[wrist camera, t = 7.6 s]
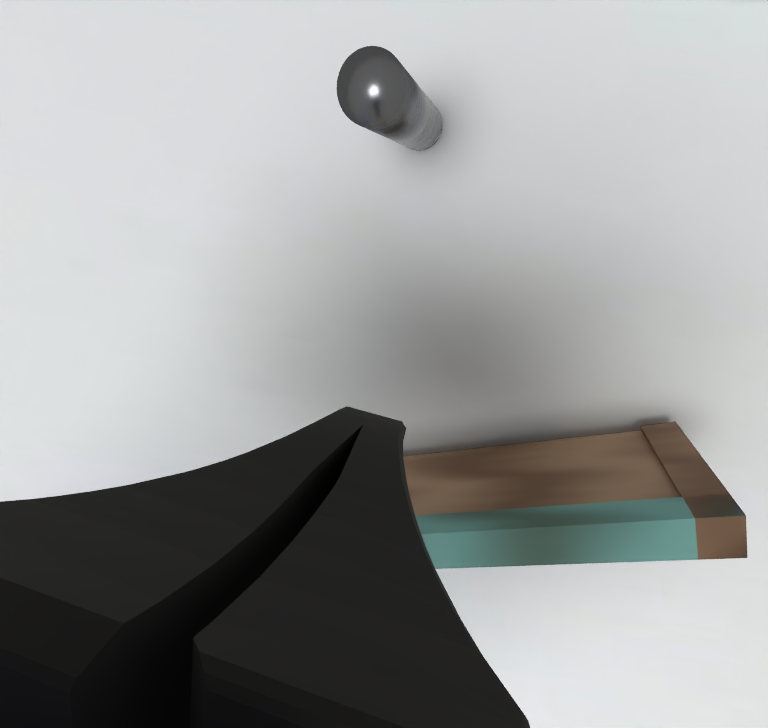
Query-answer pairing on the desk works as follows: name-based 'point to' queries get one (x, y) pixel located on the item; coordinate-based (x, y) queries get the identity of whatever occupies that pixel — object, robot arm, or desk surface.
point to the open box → (575, 502)
